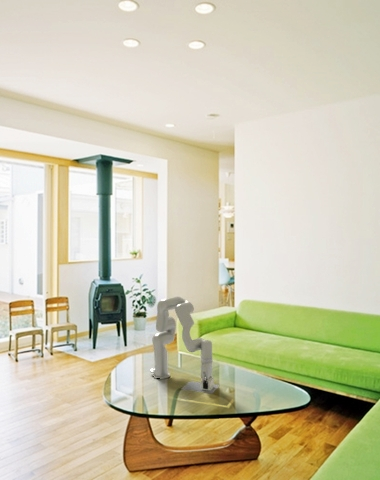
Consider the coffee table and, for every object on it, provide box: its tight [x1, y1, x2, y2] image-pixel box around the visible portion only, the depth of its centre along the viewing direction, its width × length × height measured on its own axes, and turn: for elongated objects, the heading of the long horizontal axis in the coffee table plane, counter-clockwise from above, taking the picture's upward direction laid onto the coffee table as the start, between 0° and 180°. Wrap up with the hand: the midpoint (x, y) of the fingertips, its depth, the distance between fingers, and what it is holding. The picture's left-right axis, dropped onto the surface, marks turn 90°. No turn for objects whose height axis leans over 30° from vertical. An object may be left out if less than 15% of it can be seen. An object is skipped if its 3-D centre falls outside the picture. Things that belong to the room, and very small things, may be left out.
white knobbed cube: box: [200, 377, 215, 391], centre depth 261 cm, size 7×7×7 cm
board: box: [181, 380, 221, 395], centre depth 263 cm, size 22×15×1 cm
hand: (207, 386), depth 261 cm, fingers closed on white knobbed cube, 6 cm apart
